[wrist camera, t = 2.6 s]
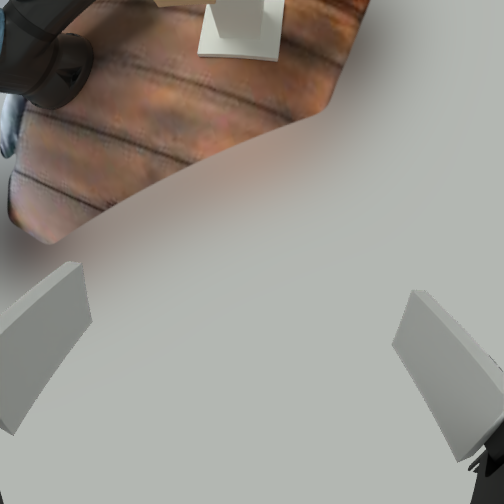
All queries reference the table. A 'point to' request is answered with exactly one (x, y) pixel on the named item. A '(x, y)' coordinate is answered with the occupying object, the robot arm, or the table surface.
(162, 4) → the hammer
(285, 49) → the table surface
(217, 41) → the tall stand
